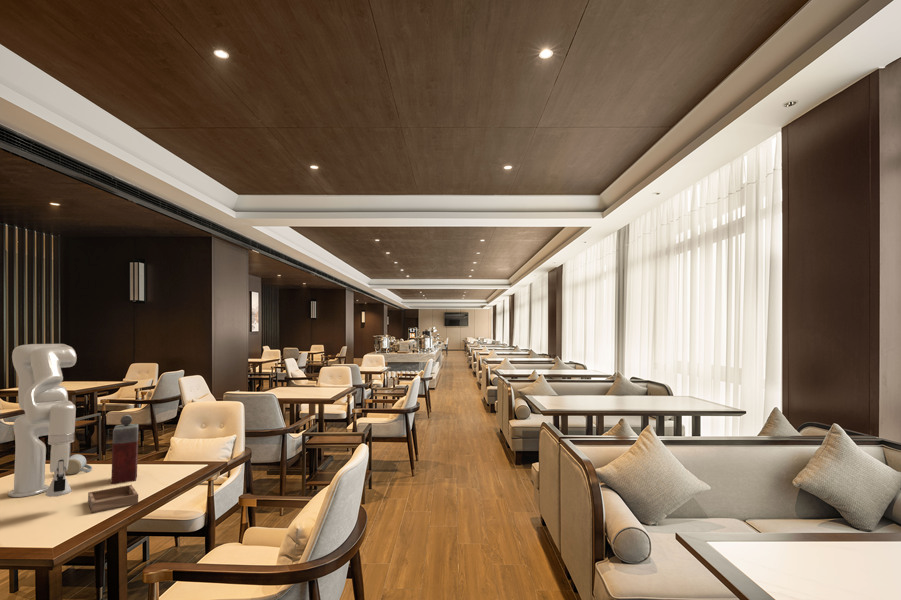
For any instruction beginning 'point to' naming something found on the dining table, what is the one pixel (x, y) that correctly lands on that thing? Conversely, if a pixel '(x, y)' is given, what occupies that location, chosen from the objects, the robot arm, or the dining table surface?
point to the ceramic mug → (77, 464)
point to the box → (112, 498)
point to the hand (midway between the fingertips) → (58, 488)
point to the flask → (51, 492)
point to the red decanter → (125, 451)
